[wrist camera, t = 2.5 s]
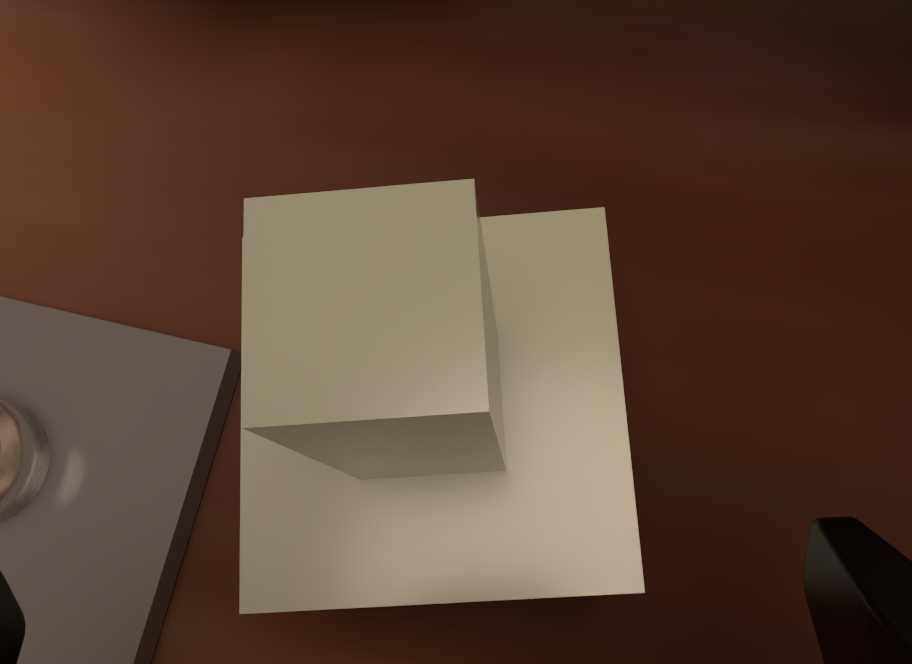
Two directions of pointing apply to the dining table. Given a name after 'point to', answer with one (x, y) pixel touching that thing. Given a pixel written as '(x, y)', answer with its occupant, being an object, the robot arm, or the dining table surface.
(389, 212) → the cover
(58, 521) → the slate mat
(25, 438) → the tea light
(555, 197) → the dining table surface
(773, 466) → the dining table surface
